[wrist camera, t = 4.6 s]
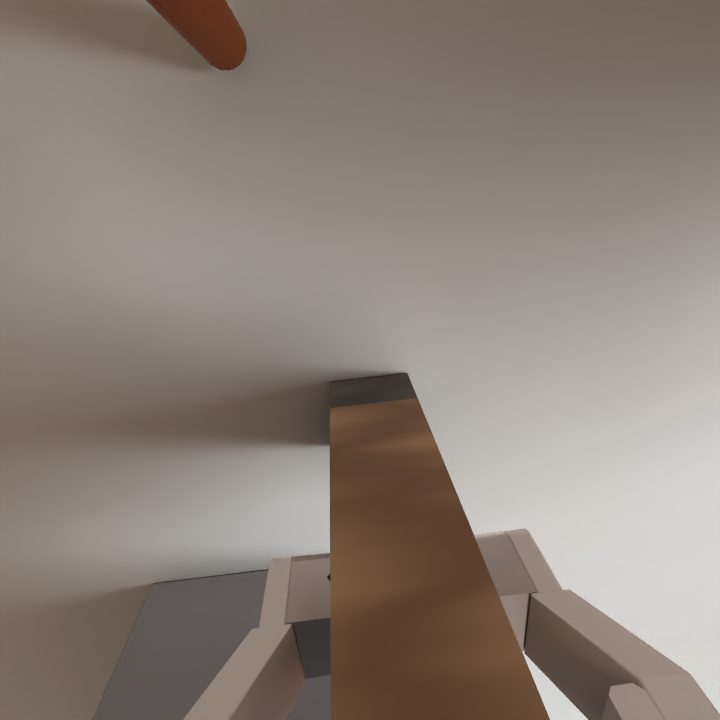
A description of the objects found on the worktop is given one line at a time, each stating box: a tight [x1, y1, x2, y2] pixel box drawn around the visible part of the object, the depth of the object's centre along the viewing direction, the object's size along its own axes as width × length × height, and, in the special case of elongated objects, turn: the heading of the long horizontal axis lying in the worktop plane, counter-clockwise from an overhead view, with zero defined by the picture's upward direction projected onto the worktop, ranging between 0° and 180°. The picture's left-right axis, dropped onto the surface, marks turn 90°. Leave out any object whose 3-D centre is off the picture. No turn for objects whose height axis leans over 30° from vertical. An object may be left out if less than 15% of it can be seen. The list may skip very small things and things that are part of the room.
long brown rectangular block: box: [330, 373, 550, 720], centre depth 9 cm, size 3×3×16 cm
